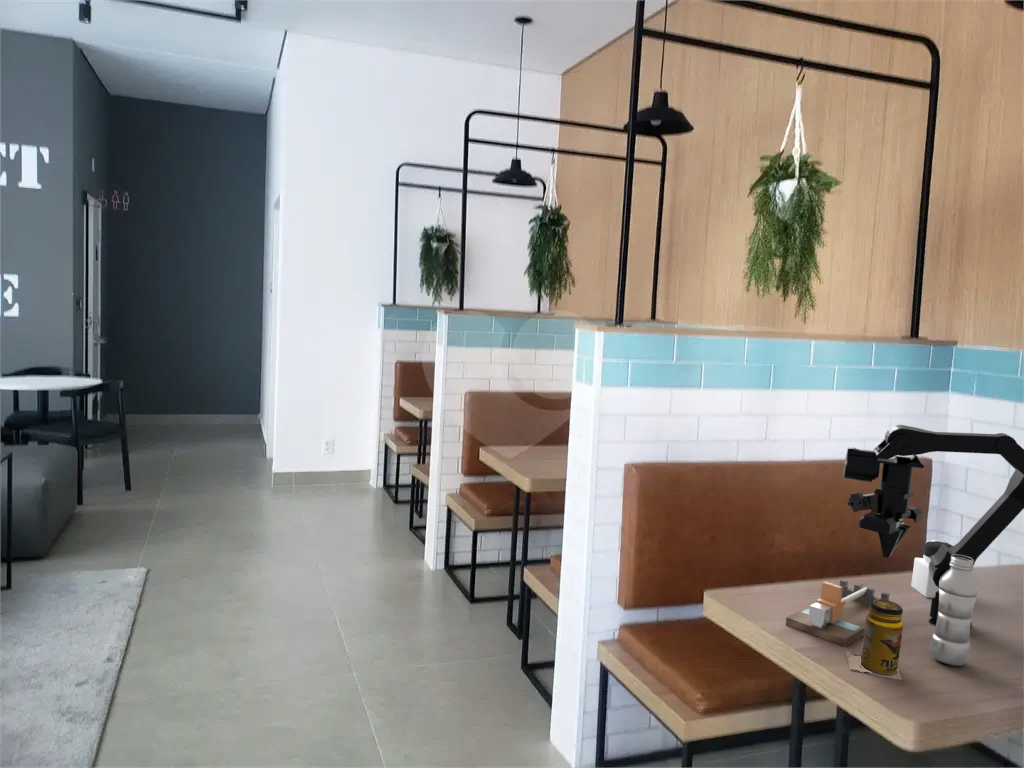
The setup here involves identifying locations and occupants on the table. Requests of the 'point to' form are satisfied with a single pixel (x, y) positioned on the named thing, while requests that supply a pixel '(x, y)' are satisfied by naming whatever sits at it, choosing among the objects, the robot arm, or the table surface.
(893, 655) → the condiment
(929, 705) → the table surface
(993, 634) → the table surface
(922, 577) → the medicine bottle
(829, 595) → the orange stepped block
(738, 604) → the table surface
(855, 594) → the cord
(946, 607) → the plastic bottle
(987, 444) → the robot arm
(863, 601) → the cable comb
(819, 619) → the block
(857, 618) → the cord board
